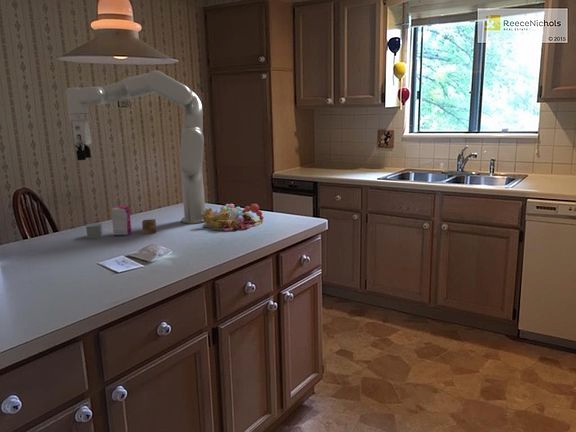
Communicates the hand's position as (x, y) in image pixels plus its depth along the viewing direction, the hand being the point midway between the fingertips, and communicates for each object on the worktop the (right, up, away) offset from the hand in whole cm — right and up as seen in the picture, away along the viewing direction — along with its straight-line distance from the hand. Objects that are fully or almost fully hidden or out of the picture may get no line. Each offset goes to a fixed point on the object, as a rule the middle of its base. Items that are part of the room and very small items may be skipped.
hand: (84, 158), depth 207 cm
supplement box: (+18, -32, -4) cm, 37 cm away
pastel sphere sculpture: (+62, -29, +7) cm, 69 cm away
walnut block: (+29, -31, -2) cm, 43 cm away
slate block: (+7, -33, -6) cm, 34 cm away
